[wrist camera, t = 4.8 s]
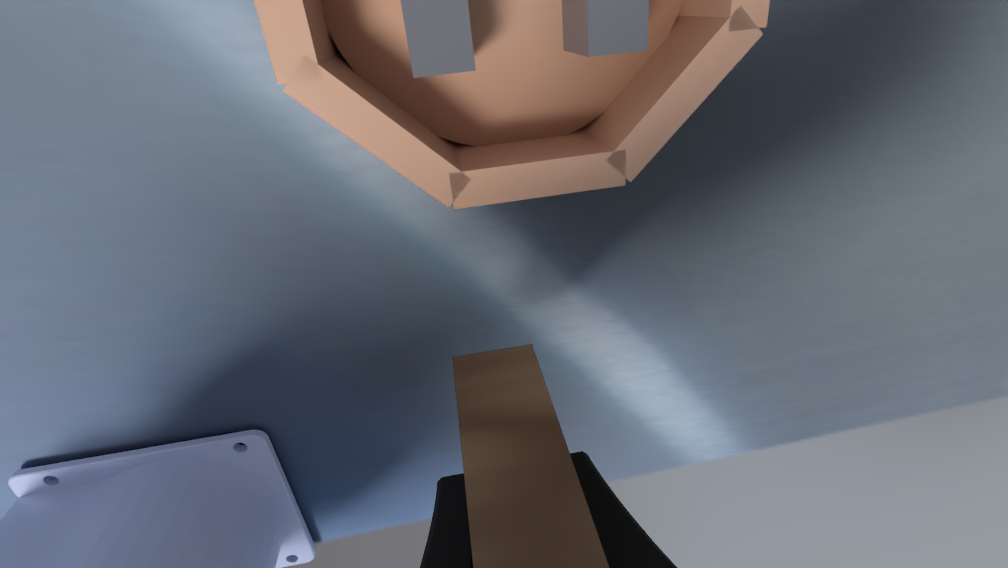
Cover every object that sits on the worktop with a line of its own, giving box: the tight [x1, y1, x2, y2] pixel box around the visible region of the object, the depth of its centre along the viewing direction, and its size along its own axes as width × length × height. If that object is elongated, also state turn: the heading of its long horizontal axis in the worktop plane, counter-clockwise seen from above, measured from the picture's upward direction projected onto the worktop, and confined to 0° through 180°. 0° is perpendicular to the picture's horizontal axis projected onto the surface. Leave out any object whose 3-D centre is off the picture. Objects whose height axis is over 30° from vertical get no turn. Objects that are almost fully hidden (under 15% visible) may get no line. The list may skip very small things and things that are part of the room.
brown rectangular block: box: [452, 344, 609, 568], centre depth 11 cm, size 2×4×6 cm, turn 6°
